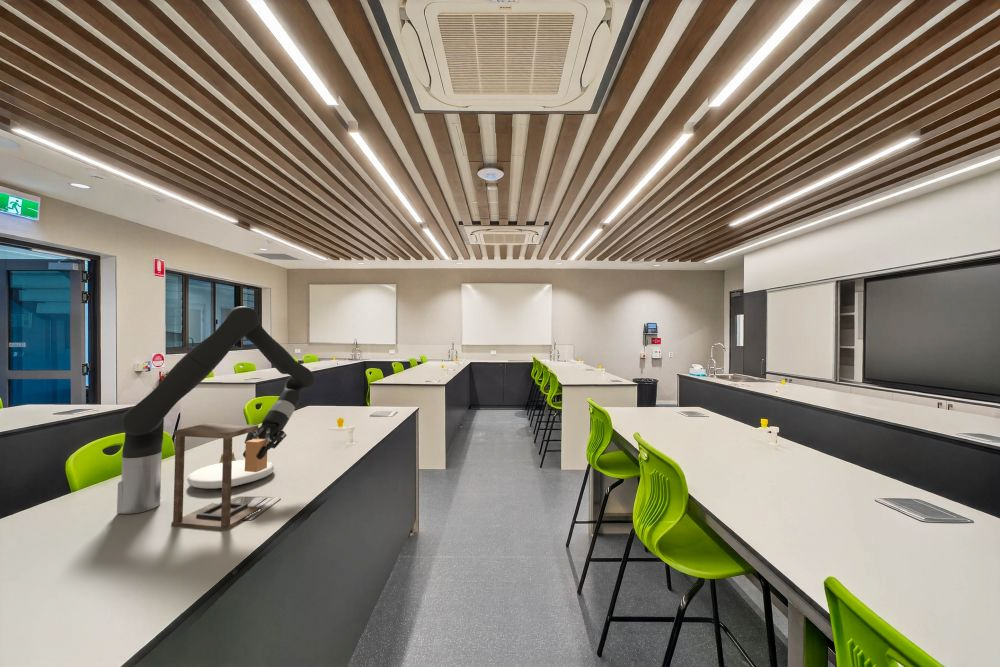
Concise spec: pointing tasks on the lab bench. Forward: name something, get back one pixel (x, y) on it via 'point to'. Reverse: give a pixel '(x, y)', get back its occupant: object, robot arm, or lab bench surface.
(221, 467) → the plate
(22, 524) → the lab bench surface
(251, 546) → the lab bench surface
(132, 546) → the lab bench surface
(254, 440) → the terracotta block
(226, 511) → the walnut shelf
